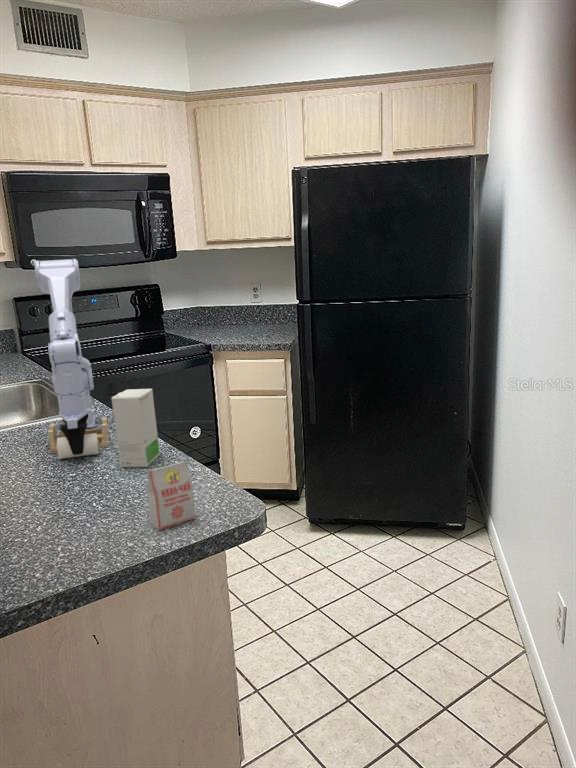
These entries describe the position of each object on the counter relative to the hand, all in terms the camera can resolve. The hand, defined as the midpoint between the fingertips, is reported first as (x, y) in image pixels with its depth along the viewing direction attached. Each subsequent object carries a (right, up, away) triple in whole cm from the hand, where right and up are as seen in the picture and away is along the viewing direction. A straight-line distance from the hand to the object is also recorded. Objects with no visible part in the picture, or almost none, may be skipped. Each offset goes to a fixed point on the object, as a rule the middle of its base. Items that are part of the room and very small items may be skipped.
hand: (78, 449), depth 137 cm
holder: (-2, 0, +8) cm, 9 cm away
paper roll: (0, +1, 0) cm, 1 cm away
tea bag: (+28, -9, -33) cm, 44 cm away
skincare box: (+15, -2, -5) cm, 16 cm away
